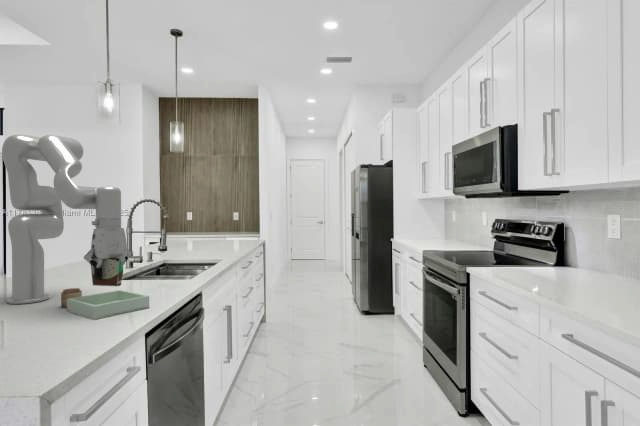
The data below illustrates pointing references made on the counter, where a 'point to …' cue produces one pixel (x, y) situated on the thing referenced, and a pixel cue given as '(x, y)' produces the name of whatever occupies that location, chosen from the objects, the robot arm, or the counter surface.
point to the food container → (110, 272)
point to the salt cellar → (69, 295)
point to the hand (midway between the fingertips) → (109, 277)
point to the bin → (107, 304)
